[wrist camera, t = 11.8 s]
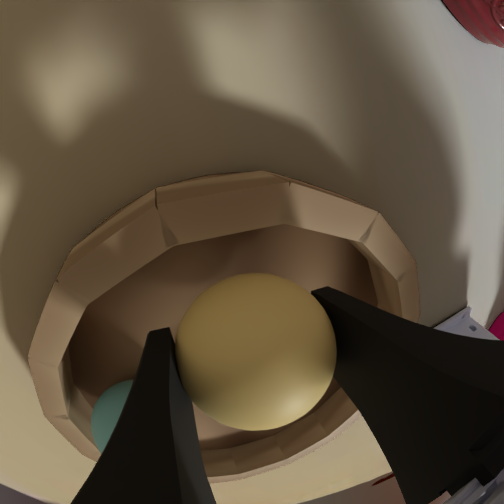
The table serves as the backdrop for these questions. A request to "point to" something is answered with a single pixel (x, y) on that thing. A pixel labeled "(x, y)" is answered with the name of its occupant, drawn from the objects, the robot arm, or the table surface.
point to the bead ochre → (255, 351)
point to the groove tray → (198, 280)
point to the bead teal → (108, 412)
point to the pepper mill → (498, 327)
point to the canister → (480, 18)
